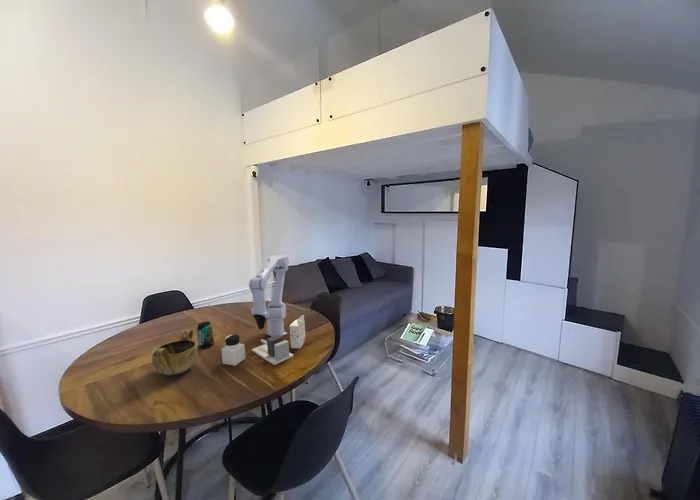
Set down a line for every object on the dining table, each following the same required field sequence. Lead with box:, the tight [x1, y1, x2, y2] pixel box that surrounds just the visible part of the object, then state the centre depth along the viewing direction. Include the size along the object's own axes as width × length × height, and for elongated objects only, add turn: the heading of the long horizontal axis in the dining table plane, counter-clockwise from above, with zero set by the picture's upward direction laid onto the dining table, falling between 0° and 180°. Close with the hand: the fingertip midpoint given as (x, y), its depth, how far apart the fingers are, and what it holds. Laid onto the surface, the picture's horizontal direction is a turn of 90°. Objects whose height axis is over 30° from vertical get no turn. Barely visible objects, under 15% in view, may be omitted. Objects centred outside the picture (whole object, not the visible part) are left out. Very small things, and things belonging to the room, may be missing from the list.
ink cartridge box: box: [289, 314, 307, 349], centre depth 144 cm, size 9×5×15 cm, turn 168°
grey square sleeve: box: [266, 335, 284, 357], centre depth 133 cm, size 4×6×8 cm, turn 136°
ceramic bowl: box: [151, 329, 199, 376], centre depth 123 cm, size 22×17×15 cm
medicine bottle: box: [221, 333, 247, 367], centre depth 130 cm, size 7×7×12 cm
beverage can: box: [196, 321, 215, 349], centre depth 147 cm, size 7×7×12 cm
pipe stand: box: [251, 338, 294, 366], centre depth 136 cm, size 20×10×8 cm, turn 46°
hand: (261, 328), depth 141 cm, fingers closed
